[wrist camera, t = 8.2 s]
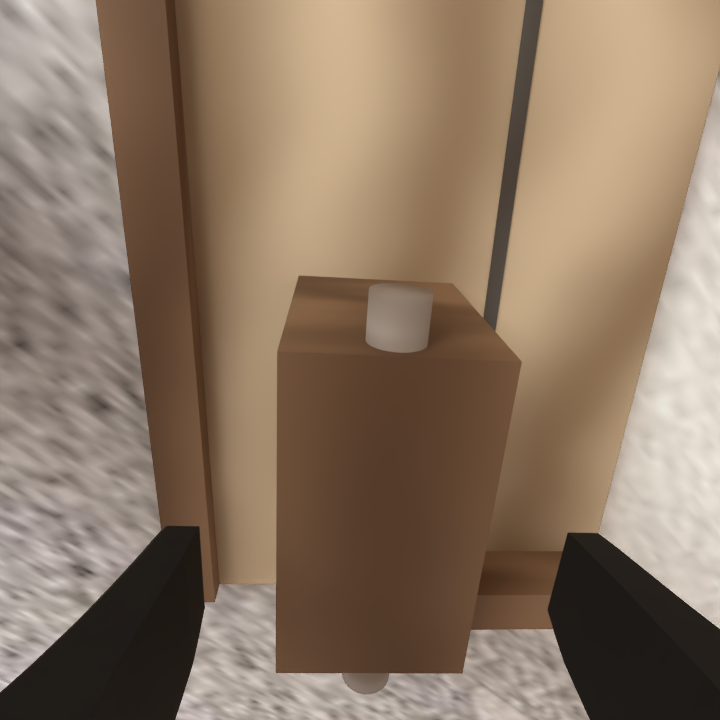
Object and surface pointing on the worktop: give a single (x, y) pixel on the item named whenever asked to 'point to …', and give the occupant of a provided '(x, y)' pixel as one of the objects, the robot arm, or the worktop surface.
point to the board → (401, 228)
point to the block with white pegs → (384, 475)
